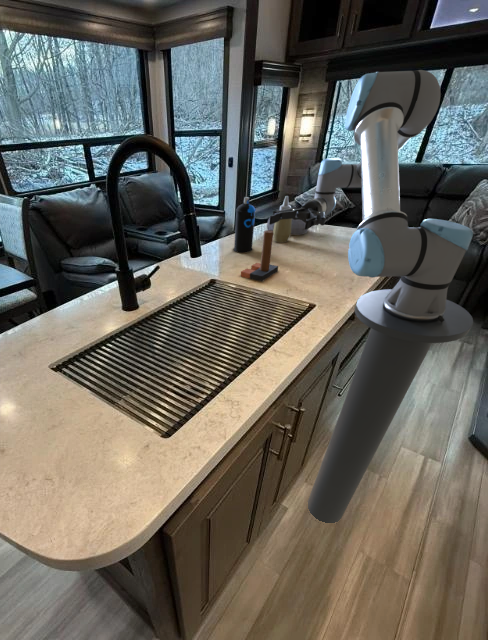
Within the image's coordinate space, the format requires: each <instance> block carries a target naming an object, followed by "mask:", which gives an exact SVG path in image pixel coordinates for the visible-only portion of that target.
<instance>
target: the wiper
mask: <svg viewBox="0 0 488 640" xmlns="http://www.w3.org/2000/svg"><path fill="white" fill-rule="evenodd" d="M273 241H274V235H273V231H272V230H268V229H266V230H264V231H263V237H262V246H261V247H262V248H261V257H260V263H261V266H260V268H259V269H257V270H255V271H253V272H252V273H250V280H253V281H257V282H263V281H265V280H267V279H268V278H271V276H273V275H275V274H276V273H278V272H279V266H278V265H275V264H271V258H272V257H271V256H272V247H273Z"/></svg>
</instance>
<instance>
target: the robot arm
mask: <svg viewBox="0 0 488 640" xmlns="http://www.w3.org/2000/svg"><path fill="white" fill-rule="evenodd" d="M441 95H442V93H441V85H440V83H439V80H438V78H437V77H436V76H435V75H434V74H433V73H431V72H430V71H429V70H423V69H416V70H398V71H375V72H370V73H369V72H368V73H365V74H363V75H361V76H360V78H359V79H358V81H357V83H356V85H355V86H354V88H353V92H352V94H351V96H350V100H349V103H348V107H347V109H346V115H345V119H344V120H345V121H344V129H345V131H349V132H350V133H351V132H353V138H354V142H355V143H356V144H357V145H359V146H360V162H359V163H346V164H345V163H343V160H342V158H337V157H332V158H331V157H330V158H328V157H327V158H323V160H321V162H320V166H319V171H318V173H317V181H316V188H315V192H314V198H313V199H311V200H308V201H306V202H304V203H303V204H302V205H301V207H300V208H295V207H291V208H290V209H285V210H280V209H279V210H273V211H272V215H270V216H269V218H270V224H274V223H276V222H278V221H280V220H282V219H293V220H298V219H299V220H302V221H303V222H305V223H306V225H305V229H308V230H309V229H311V228H312V227H315V226H319V225H320V226H325V224H326V223H325V222H326V218H327V217H326V216H328V215H330V214H331V213H332V211H334V209H335V207H336V204H337V199H336V197H335V195H336V190H337V189H345V188H347V189H348V188H361V204H362V205H361V209H362V210H361V211H362V212H361V213H362V221H361V222H360V223H359V224H358V226H357V228H356V230H355V231H354V232H353V233H352V235H351V237H350V240H349V243H348V247H349V248H348V249H347V258H348V259H347V260H348V264H349V268H350V270H351V271H352V273H353V274H355V276H358V277H363V278H364V277H367V278H383V277H384V278H386V277H388V278H389V277H400V278H399V281H398V282H397V283H396V284H395V285H394V286H393V288H392V289H393V290H392V291H391V292H390V293H389V295H388V296H387V297H386V298H385V301H384V303H383V309H384V310H385V311H386V312H387V313H389V314H390V315H392V316H394V317H396V318H399V319H402V320H406V321H411V322H420V323H427V322H434V321H437V320H439V321H440V322H443V321H445V320H444V319H443V318H442V316H443V314H444V312H445V307H446V299H447V297H448V296H447V295H448V288H449V286H450V285H451V283H452V281H453V279H454V276H455V275H456V272H457V270H458V268H459V266H460V264H461V262H462V261H463V258H464V256H465V254H466V252H467V251H468V250H469V247H470V244H471V242H472V239H473V236H474V231H473V230H472V228H470V227H468V226H467V225H463V224H461V223H457V222H454V221H449V220H446V219H445V220H444V219H437V218H427V219H425V218H424V219H423V220H422V222H421V223H420V226H418V227H414V226H413V227H409V221H408V215H407V213H405V212H403V211H401V197H400V196H401V193H400V172H399V171H400V167H399V165H400V164H399V151H400V150H402V148H403V147H404V146H405V145H406V144H407V143H408V142H409V141H410V139H412V138H415V137H417V136H419V135H420V134H421V133H422V132H423V131H424V130H425V129H426V128H427V127H428V126H429V124H431V122H432V121H433V119H434V117H435V116H436V113H437V111H438V109H439V106H440V102H441Z"/></svg>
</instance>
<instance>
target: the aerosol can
mask: <svg viewBox="0 0 488 640" xmlns="http://www.w3.org/2000/svg"><path fill="white" fill-rule="evenodd" d="M256 211H257V209H256V207H255V206H254V205H252V204H251V203H250V197H248V196H244V197H243V203H242V204H240V205H238V206H237V207H236V208H235V227H234V245H233V246H234V248H233V251H234V252H235V253H239V254H247V253H250V252H252V251H253V243H254V240H253V239H254V230H255V229H254V228H255V219H256Z"/></svg>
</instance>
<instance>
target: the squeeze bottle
mask: <svg viewBox="0 0 488 640" xmlns="http://www.w3.org/2000/svg"><path fill="white" fill-rule="evenodd" d="M289 201H290V200H289V195H285V196H284V199H283V203H282V204H281V205H279V210H285V209H290V208H292V206H291V205H290V204H289ZM291 224H292V219H282V220H280V221H278V222H276V223H275V225H274V230H273V241H274V242H275V243H279V244H280V243H281V244H282V243H287V242H288V240H289V238H290V237H291V235H290V234H291Z"/></svg>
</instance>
